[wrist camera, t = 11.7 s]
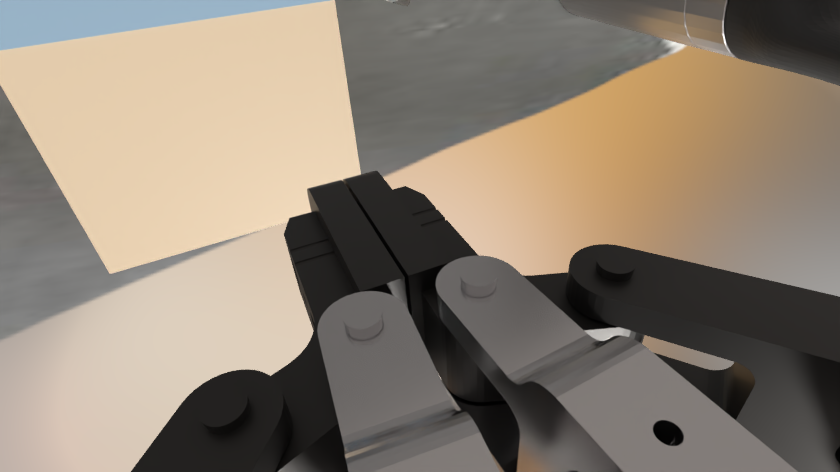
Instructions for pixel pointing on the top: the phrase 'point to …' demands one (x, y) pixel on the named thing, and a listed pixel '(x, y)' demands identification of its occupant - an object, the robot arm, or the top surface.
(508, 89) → the top surface
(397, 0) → the egg carton
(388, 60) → the top surface
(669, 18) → the robot arm
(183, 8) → the box lid
